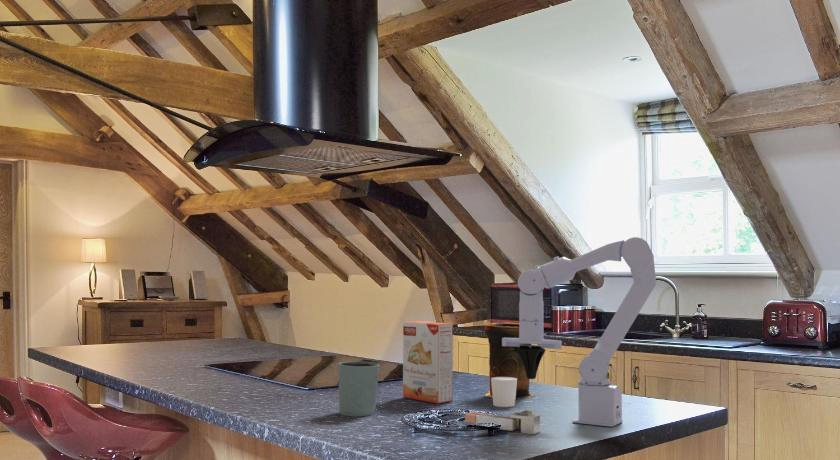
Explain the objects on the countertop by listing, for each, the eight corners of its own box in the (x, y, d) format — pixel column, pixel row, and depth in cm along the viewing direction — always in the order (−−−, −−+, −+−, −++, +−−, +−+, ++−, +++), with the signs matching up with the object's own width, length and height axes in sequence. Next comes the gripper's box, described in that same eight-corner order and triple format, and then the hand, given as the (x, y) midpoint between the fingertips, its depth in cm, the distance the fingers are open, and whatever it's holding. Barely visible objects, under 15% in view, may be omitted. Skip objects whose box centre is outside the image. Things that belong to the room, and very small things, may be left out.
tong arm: (519, 428, 176) (519, 417, 177) (516, 429, 175) (516, 418, 175) (472, 422, 182) (473, 412, 183) (470, 423, 181) (470, 412, 181)
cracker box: (401, 397, 219) (402, 320, 220) (417, 395, 223) (418, 320, 224) (437, 404, 209) (437, 323, 210) (453, 401, 213) (453, 322, 214)
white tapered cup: (500, 402, 213) (500, 375, 214) (522, 405, 209) (522, 377, 209) (485, 405, 208) (485, 378, 208) (507, 408, 204) (507, 380, 204)
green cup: (340, 409, 200) (340, 360, 201) (380, 410, 200) (381, 361, 200) (334, 416, 190) (335, 365, 191) (377, 417, 190) (377, 366, 190)
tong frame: (539, 431, 174) (539, 413, 174) (533, 434, 171) (533, 415, 171) (472, 423, 182) (472, 405, 182) (465, 426, 179) (465, 408, 180)
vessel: (517, 389, 235) (518, 321, 236) (545, 398, 222) (545, 325, 223) (474, 392, 229) (475, 322, 229) (500, 401, 216) (501, 327, 217)
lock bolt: (531, 427, 177) (531, 411, 178) (528, 428, 176) (528, 412, 176) (511, 425, 180) (511, 408, 180) (507, 426, 178) (507, 410, 178)
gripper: (566, 321, 190) (566, 378, 189) (511, 318, 198) (510, 374, 197) (555, 322, 184) (555, 382, 183) (498, 320, 192) (498, 377, 191)
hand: (531, 378), depth 190 cm, fingers closed
